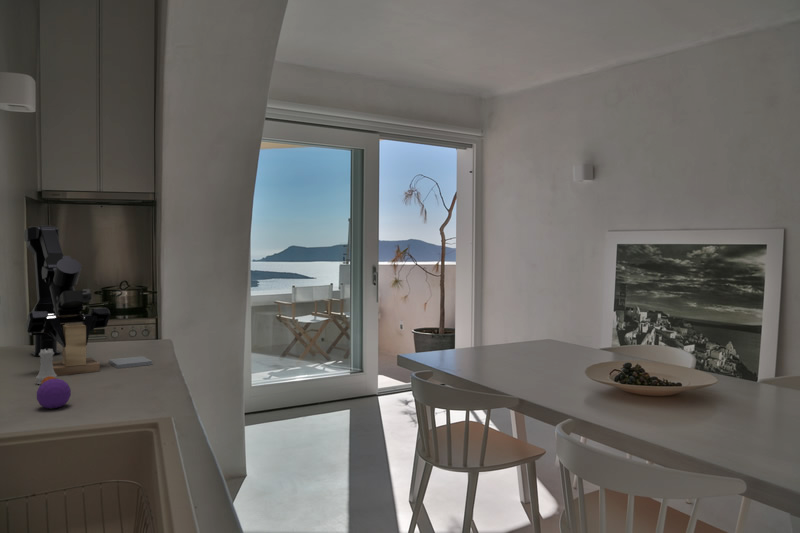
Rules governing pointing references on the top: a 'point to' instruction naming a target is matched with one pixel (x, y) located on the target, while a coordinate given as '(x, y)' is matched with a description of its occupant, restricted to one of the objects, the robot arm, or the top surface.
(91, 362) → the walnut ledge
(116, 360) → the slate tile
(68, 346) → the oak block
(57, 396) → the purple round ball
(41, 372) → the rook chess piece
